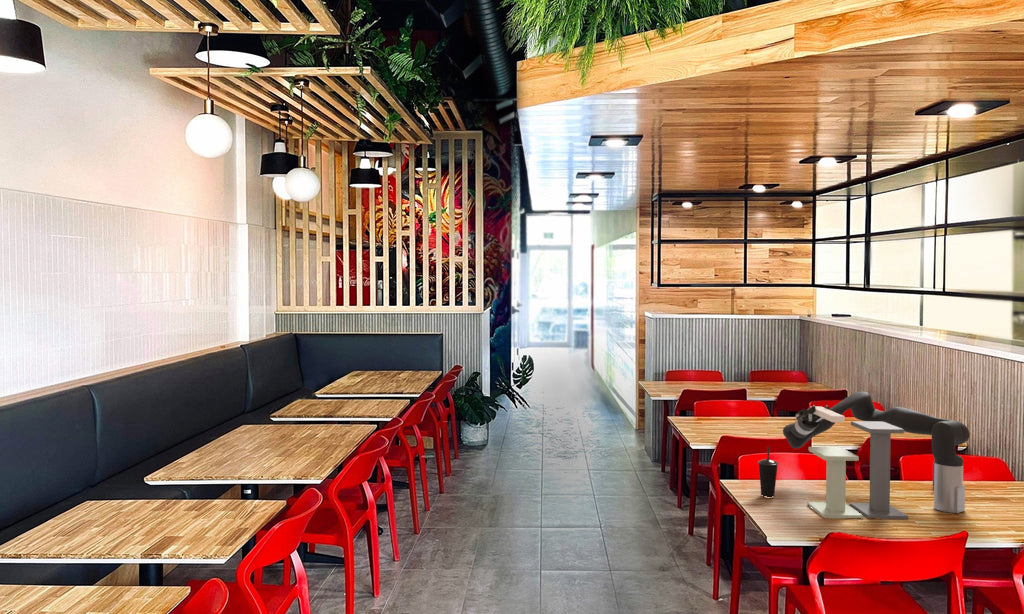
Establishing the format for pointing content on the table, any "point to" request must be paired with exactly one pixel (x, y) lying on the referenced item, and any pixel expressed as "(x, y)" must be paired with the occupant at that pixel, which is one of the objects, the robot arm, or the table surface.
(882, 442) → the high shelf
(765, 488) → the drinking cup
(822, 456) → the low shelf
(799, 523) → the table surface
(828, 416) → the pale pink beam
